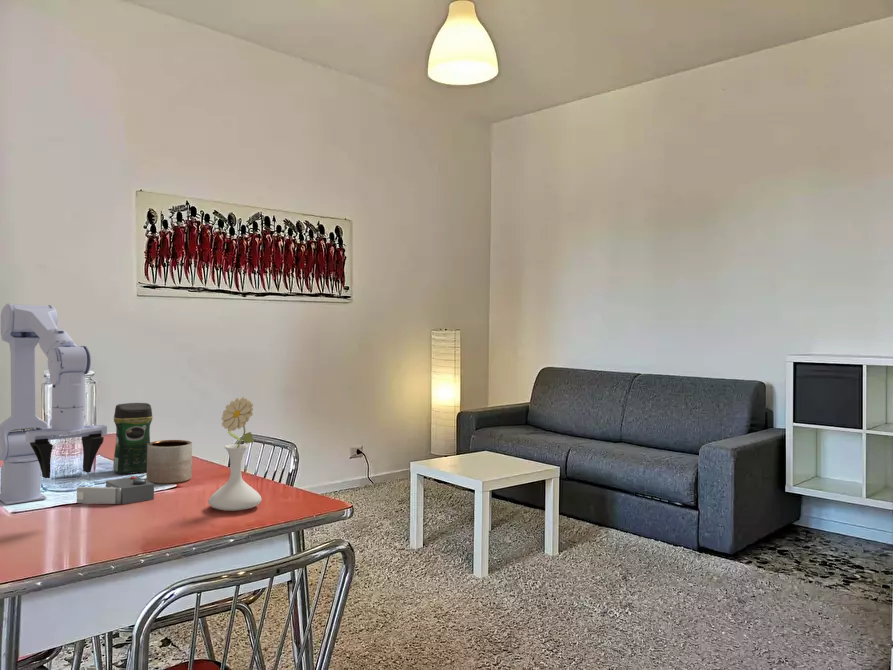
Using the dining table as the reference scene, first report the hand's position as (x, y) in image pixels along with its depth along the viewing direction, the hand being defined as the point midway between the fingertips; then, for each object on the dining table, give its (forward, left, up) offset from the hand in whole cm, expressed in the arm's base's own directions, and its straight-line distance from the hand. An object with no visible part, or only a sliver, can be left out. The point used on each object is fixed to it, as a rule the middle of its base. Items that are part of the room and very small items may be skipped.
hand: (66, 474), depth 138 cm
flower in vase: (+11, +31, -10) cm, 35 cm away
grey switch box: (-13, +18, -10) cm, 24 cm away
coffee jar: (-41, +29, -10) cm, 51 cm away
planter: (-25, +32, -10) cm, 42 cm away
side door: (-11, +10, -10) cm, 18 cm away
